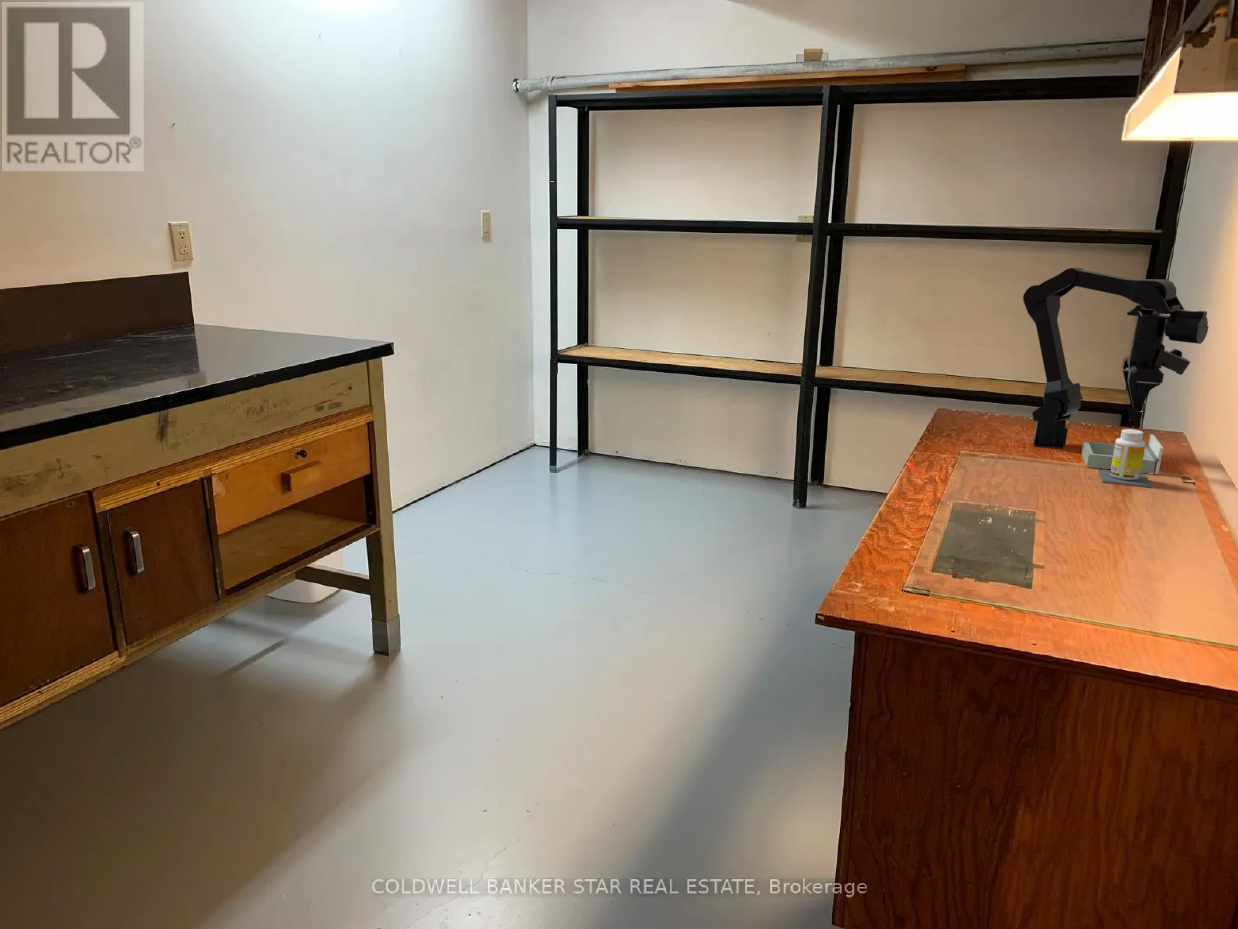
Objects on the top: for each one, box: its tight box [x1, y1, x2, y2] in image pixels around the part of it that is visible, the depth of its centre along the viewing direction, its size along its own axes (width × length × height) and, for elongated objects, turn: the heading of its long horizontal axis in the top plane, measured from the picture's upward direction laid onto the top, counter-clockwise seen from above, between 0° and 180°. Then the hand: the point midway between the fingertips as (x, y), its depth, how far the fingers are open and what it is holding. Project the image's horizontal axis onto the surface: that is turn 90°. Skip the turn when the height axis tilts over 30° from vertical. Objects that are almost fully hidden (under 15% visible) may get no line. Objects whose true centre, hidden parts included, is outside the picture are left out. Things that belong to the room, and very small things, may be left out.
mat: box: [1097, 469, 1153, 489], centre depth 183 cm, size 9×9×1 cm
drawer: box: [1081, 433, 1164, 475], centre depth 194 cm, size 14×13×6 cm
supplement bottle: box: [1109, 428, 1147, 480], centre depth 182 cm, size 6×6×10 cm
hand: (1134, 406), depth 193 cm, fingers open, 9 cm apart
